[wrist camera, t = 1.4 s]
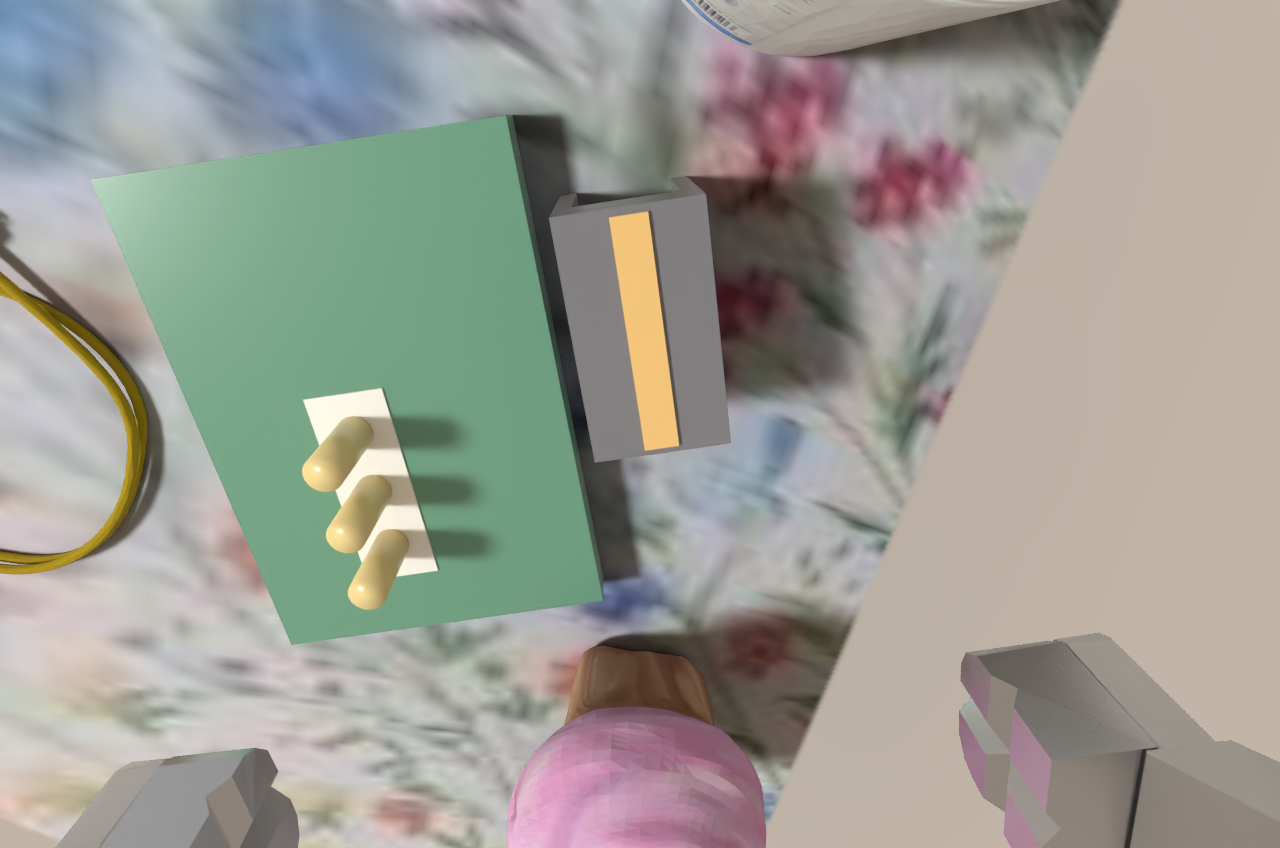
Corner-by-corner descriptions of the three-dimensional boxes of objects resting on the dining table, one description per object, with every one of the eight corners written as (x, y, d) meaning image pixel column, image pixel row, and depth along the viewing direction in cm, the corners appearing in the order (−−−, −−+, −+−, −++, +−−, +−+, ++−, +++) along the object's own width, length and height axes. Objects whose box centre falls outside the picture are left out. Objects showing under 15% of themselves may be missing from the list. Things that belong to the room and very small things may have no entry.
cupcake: (753, 615, 30) (819, 842, 20) (712, 766, 33) (751, 1019, 24) (537, 592, 29) (504, 819, 20) (518, 750, 32) (482, 1006, 23)
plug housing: (560, 195, 23) (548, 218, 18) (686, 176, 23) (706, 194, 18) (597, 398, 26) (594, 464, 21) (708, 382, 25) (731, 444, 21)
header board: (123, 175, 22) (10, 191, 18) (512, 115, 22) (489, 116, 18) (306, 618, 29) (256, 704, 25) (603, 576, 29) (602, 656, 24)
